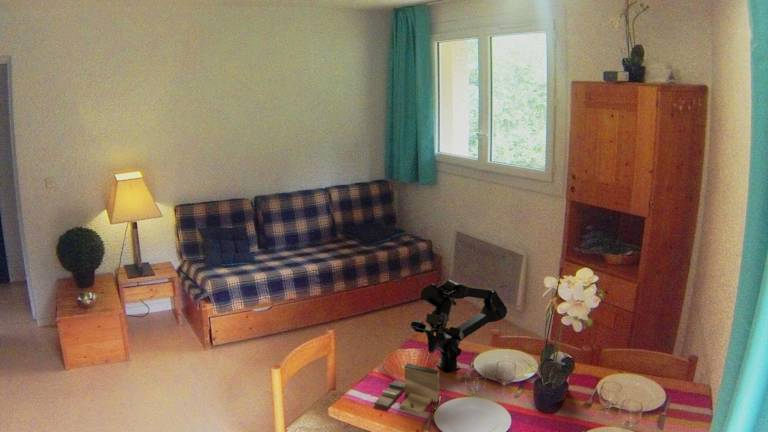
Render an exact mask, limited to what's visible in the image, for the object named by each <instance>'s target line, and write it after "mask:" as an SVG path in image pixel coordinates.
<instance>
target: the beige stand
mask: <svg viewBox="0 0 768 432" xmlns="http://www.w3.org/2000/svg"><path fill="white" fill-rule="evenodd" d="M404 383H405V390H404V395H406V396H407V397H406V398H405V399H404V400H403V401H402V402H401V404H400V405H399V409H401V410H406V411H409V412H412V413H416V414H423V413H424V412H425V411H426V409H427V408H428V406H429V405H430V404H431V402H434V401H436V402H435V403H438V402H439V400H440V370H439V369H434V368H430V367H425V366H421V365H418V364H412V363H405V365H404ZM437 401H438V402H437Z"/></svg>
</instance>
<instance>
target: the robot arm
mask: <svg viewBox="0 0 768 432" xmlns="http://www.w3.org/2000/svg"><path fill="white" fill-rule="evenodd" d="M465 298H476V299H483V300H482V302H483V304H484V305H483V306H482V308H481V310H480V312H478V313H477V314H475V315H474V316H473V317H470V318H469V319H468V320H466V321H465V322H463V323H461V324H460V325H458V326H457V327H454V326H450V327H449V328H448V327H447V325H448V322H449V321H450V314H451V310H452V306H454V307H455V306H457V302H456V301H455V300H460V299H461V300H462V299H465ZM420 299H421V300H422V301H424V302H425V303H426V304H428V305H430V306H431V307H434V310H432V312H431V313H426V317H425V323H427V324H428V325H427V324H425V323H424V321H423V320H418V319H417V320H416V319H413V320H412V321H411V323H410V328H411V329H412V330H413V331H414V332H416V333H420V334H423V333H424V334H425V335H426V337H427V346H428V353H429V354H434V352H435V351H436V350H437V351H438V352H439V351H440V363H438V364H439V365H438V366H437V367H438V368H440V369H441V370H442V371H444V372H445V373H449V372H453V371H455V370H459V369H460V368H461V366H460V365H458V356H461V354H462V348H460V347H459V346H460V343H461V341H462V342H463V340H464V339H465V338H468V336H470V335H472V334H474V333H475V332H476V331H479V329H481V328H483V327H484V326H485V325H487V324H488V323H496V322H499V321H501V320H503V319H504V318H506V316H507V313H508V308H507V306H506V305H505V303H504V301H503V300H502V299H501V298H500V297H499V295H498V292H497V291H496V290H494V289H493V288H491V287H484V286H483V287H482V286H477V285H476V286H475V285H468V284H464V283H462V282H461V283H460V282H458V281H456V280H453V279H447V280H446V282H443V283H442V284H440V285H438V286H437V285H435V284H434V283H430V285H427V286H425V287H424V288H422V289H421V292H420Z"/></svg>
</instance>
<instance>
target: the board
mask: <svg viewBox="0 0 768 432" xmlns="http://www.w3.org/2000/svg"><path fill="white" fill-rule="evenodd" d="M403 392H405V381H404V382H403V381H399V380H394V381H392V382H389V384H388V387H387V388H386V389H384V390H382V393H381V395H380V396H379V397H378V399H376V401H375V402H374V407H377V408H382V409H384V410H389V409H390V408H391V407H392V405H393V404H394V403H395V402H396V401H397V399H398V398H399V397H400V396H401V395H402V393H403Z"/></svg>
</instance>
